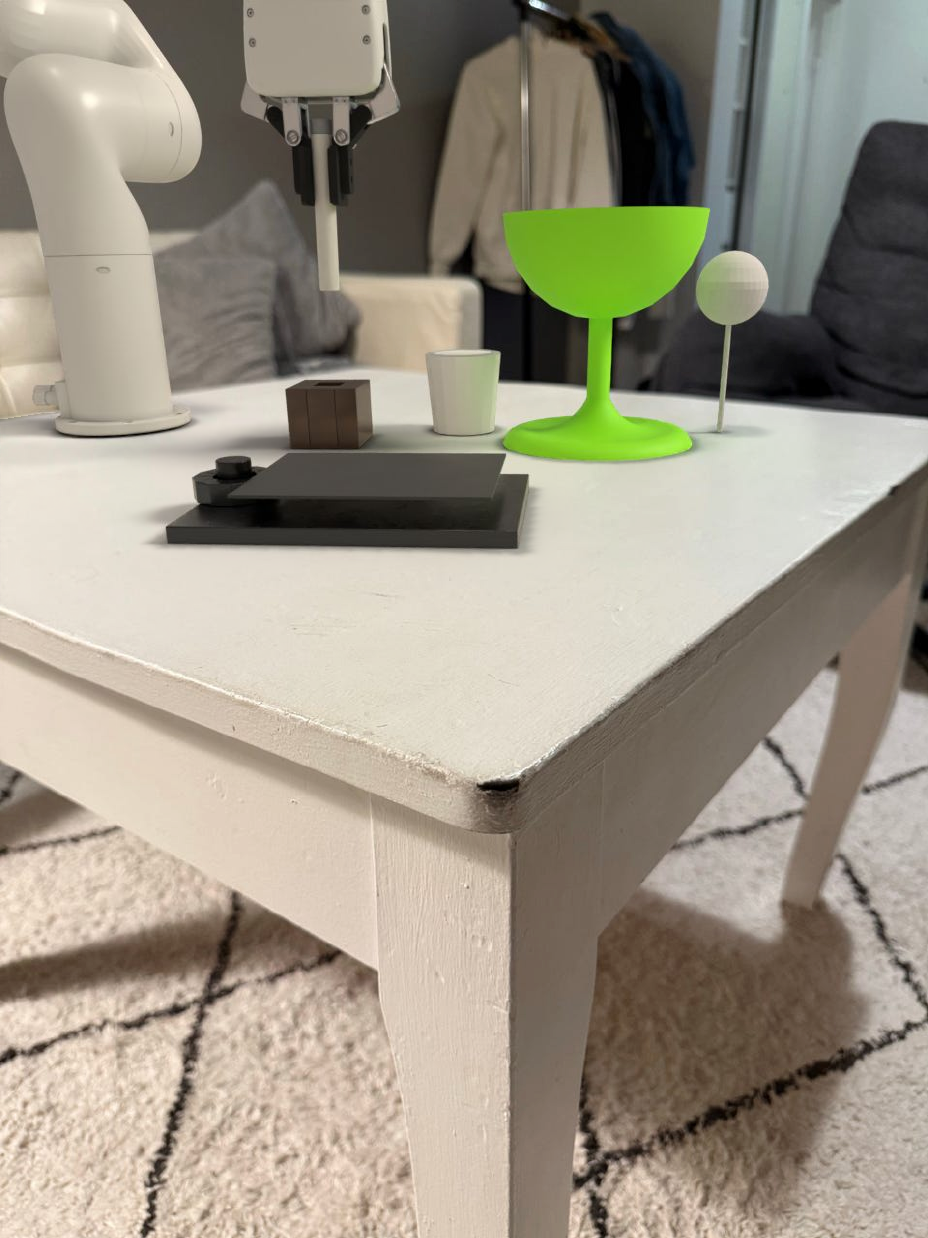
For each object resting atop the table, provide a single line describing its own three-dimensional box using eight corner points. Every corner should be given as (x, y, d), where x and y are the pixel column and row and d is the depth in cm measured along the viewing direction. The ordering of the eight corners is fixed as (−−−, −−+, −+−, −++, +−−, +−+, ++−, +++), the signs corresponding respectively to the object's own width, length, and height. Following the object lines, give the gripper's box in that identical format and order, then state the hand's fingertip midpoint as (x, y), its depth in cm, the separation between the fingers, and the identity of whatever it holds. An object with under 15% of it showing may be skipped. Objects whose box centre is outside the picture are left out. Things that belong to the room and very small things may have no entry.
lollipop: (758, 438, 78) (777, 249, 73) (687, 438, 79) (701, 251, 74) (749, 426, 84) (766, 250, 78) (683, 425, 85) (695, 251, 79)
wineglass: (546, 421, 88) (549, 217, 81) (712, 432, 81) (731, 211, 74) (470, 452, 75) (466, 212, 68) (661, 468, 68) (678, 203, 61)
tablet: (154, 544, 52) (148, 502, 51) (237, 487, 65) (233, 452, 64) (517, 550, 50) (517, 505, 49) (528, 489, 63) (529, 453, 62)
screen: (227, 498, 52) (227, 495, 52) (288, 455, 63) (288, 452, 63) (491, 500, 50) (491, 497, 50) (506, 456, 61) (506, 453, 61)
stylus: (317, 290, 72) (307, 118, 67) (322, 289, 73) (313, 120, 69) (337, 290, 72) (328, 117, 67) (342, 290, 73) (334, 120, 69)
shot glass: (494, 437, 81) (494, 355, 79) (419, 435, 82) (416, 355, 80) (506, 423, 87) (506, 347, 85) (436, 422, 89) (434, 348, 86)
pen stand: (290, 448, 78) (284, 388, 76) (308, 435, 84) (304, 379, 82) (359, 448, 77) (355, 388, 76) (373, 435, 83) (370, 379, 81)
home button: (212, 484, 57) (209, 462, 56) (224, 476, 59) (222, 455, 58) (246, 484, 56) (244, 462, 56) (257, 476, 59) (255, 455, 58)
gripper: (430, -73, 66) (433, 207, 73) (221, -66, 68) (243, 207, 75) (412, -110, 59) (417, 203, 66) (180, -100, 61) (208, 204, 68)
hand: (325, 203), depth 70 cm, fingers closed on stylus, 1 cm apart
